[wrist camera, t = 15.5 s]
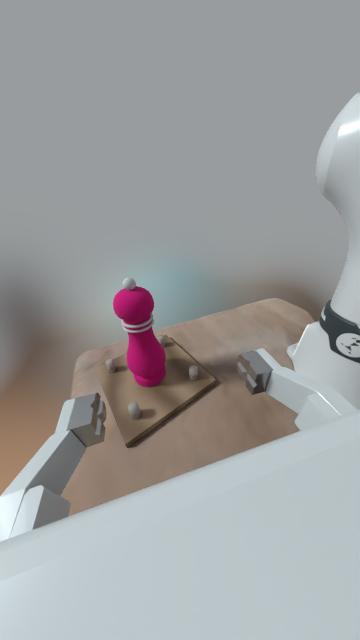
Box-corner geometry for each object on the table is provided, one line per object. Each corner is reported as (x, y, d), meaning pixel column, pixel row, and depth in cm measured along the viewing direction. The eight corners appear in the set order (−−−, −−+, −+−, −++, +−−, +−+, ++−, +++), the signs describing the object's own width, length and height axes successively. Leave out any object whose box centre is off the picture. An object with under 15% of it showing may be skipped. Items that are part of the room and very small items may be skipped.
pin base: (166, 338, 47) (165, 326, 45) (215, 383, 34) (216, 370, 32) (96, 372, 39) (90, 359, 37) (127, 447, 26) (121, 435, 24)
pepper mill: (125, 375, 36) (92, 280, 25) (153, 355, 40) (135, 267, 29) (146, 397, 32) (117, 293, 21) (175, 372, 36) (164, 275, 25)
